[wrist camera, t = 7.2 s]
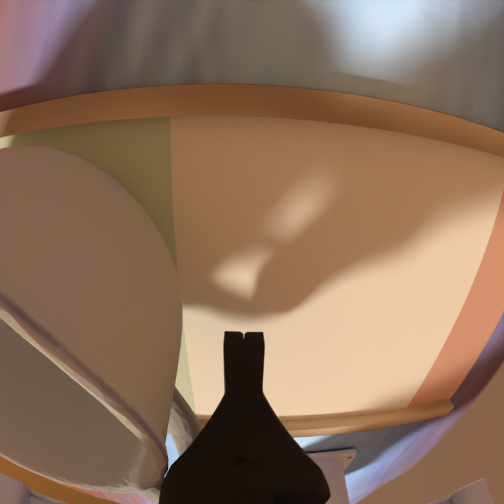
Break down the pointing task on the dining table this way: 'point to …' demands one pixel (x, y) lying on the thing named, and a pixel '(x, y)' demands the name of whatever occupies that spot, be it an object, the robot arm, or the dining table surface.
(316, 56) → the dining table surface
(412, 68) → the dining table surface
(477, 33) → the dining table surface
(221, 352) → the beige flat rectangular board
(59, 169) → the teacup
